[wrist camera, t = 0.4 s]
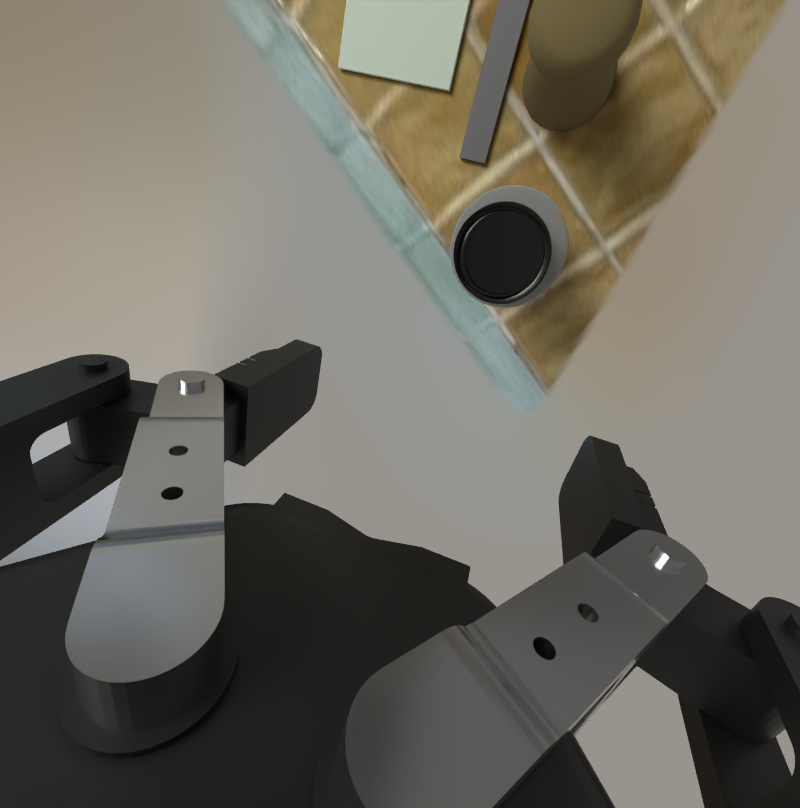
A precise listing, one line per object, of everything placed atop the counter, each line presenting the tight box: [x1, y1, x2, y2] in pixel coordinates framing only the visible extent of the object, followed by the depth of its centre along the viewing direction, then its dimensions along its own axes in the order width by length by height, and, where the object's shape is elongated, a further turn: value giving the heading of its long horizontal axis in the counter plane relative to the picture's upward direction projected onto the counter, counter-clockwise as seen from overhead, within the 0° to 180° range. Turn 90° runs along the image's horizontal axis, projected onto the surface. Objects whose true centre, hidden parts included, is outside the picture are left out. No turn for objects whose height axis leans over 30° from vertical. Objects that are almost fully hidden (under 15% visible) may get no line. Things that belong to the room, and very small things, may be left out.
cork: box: [522, 0, 642, 130], centre depth 24 cm, size 6×6×11 cm
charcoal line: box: [460, 0, 530, 164], centre depth 29 cm, size 16×2×1 cm, turn 166°
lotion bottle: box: [450, 185, 569, 307], centre depth 25 cm, size 6×6×20 cm
